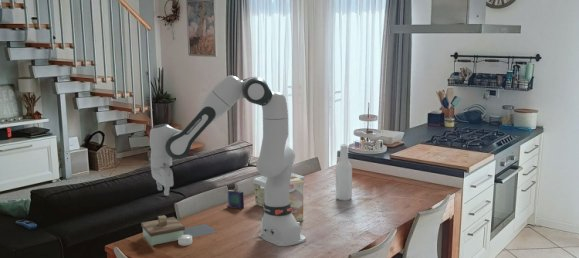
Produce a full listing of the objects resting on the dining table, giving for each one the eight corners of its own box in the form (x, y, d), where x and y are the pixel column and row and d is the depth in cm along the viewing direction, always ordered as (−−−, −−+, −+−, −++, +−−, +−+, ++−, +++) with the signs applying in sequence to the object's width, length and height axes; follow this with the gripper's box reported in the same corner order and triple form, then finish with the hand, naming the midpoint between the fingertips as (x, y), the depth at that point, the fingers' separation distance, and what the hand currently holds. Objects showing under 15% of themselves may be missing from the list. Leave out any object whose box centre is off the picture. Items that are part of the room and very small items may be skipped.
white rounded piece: (194, 245, 222) (194, 238, 222) (180, 248, 219) (180, 240, 219) (189, 241, 228) (189, 233, 227) (176, 244, 225) (175, 236, 224)
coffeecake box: (273, 223, 249) (273, 184, 245) (270, 219, 255) (269, 180, 252) (303, 220, 252) (303, 181, 249) (299, 216, 259) (299, 177, 256)
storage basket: (286, 196, 293) (286, 170, 291) (306, 202, 281) (305, 176, 278) (252, 204, 278) (251, 178, 276) (270, 212, 266) (270, 184, 263)
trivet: (217, 234, 235) (217, 232, 235) (189, 240, 229) (189, 237, 229) (206, 225, 247) (206, 223, 246) (180, 231, 240) (180, 228, 240)
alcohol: (351, 196, 291) (352, 143, 287) (351, 200, 283) (352, 146, 278) (335, 195, 292) (336, 143, 287) (335, 200, 284) (335, 146, 279)
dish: (183, 240, 228) (183, 229, 227) (151, 247, 221) (151, 236, 221) (173, 231, 240) (173, 220, 239) (143, 236, 233) (142, 226, 232)
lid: (184, 230, 227) (184, 218, 226) (150, 236, 220) (149, 224, 219) (174, 220, 240) (173, 209, 239) (141, 226, 233) (140, 214, 232)
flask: (227, 207, 275) (226, 187, 273) (230, 205, 277) (229, 185, 276) (242, 209, 271) (242, 189, 269) (245, 207, 273) (244, 187, 272)
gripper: (176, 165, 219) (178, 197, 221) (161, 156, 236) (163, 186, 238) (161, 167, 215) (163, 199, 218) (147, 158, 233) (149, 188, 235)
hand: (163, 192), depth 228 cm, fingers open, 8 cm apart
